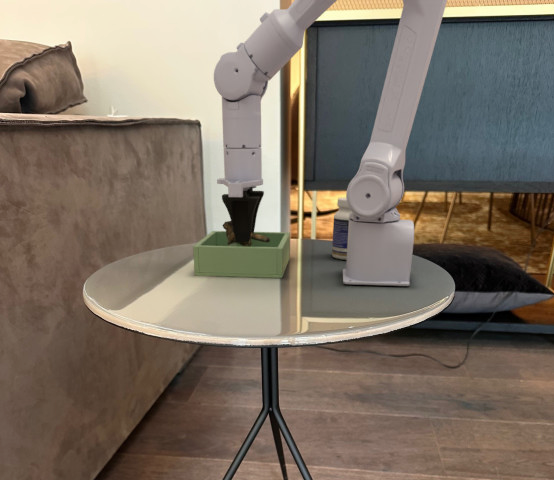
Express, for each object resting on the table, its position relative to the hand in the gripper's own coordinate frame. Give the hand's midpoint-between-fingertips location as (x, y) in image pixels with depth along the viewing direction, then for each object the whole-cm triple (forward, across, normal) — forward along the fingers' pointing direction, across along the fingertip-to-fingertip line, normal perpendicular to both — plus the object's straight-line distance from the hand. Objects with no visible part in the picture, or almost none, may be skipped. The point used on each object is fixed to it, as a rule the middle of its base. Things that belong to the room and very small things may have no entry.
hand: (244, 239), depth 84 cm
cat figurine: (+2, 0, 0) cm, 2 cm away
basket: (+4, 0, 0) cm, 4 cm away
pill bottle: (+5, -9, +17) cm, 20 cm away
